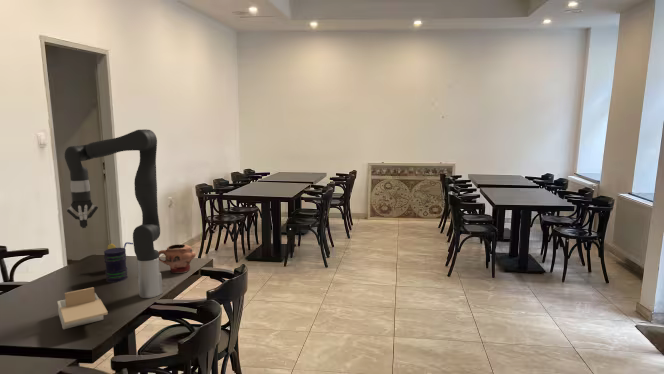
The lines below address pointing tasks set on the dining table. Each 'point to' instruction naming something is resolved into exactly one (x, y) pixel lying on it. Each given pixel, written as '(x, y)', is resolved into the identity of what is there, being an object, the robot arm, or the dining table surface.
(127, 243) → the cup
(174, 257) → the decorative planter
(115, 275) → the storage jar
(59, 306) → the base
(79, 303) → the lid
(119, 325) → the dining table surface
